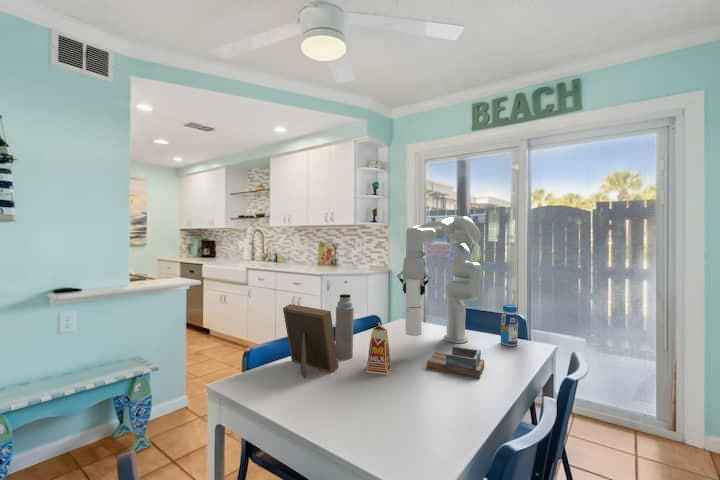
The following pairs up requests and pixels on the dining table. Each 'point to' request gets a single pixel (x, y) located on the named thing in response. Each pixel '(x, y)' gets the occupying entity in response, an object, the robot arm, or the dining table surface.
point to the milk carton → (379, 352)
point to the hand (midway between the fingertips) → (413, 293)
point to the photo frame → (311, 338)
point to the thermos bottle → (344, 328)
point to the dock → (458, 362)
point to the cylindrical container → (413, 307)
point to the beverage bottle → (509, 325)
